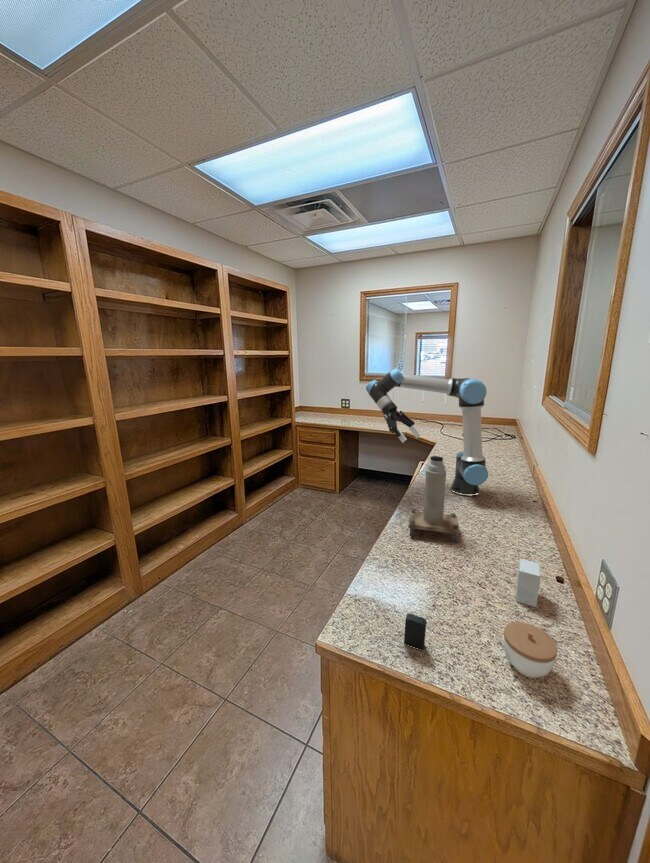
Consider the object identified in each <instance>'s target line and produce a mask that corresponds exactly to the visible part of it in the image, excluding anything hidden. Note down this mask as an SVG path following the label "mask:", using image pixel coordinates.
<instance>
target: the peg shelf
mask: <svg viewBox="0 0 650 863" xmlns="http://www.w3.org/2000/svg"><path fill="white" fill-rule="evenodd" d="M423 516H424V511H418V510H416V509H415V508H411V510H409V517H408V528H409V537H410V536H411V537H410V538H414V537H415V530H416V529H417V530H421V531H422V530H423V531H431V532H441V533H446V534H447V533H448V534H452V538H451V539H452V540H451V542H452V543H453V544H457V543H458V535H460V533H461V530H460V525H459V520H458V515H457V514H456V513H453V512H452V513H451V514H445V513H443V522H442V523H440V524H431V523H428V522H426V521H424V519H423ZM413 536H414V537H413Z"/></svg>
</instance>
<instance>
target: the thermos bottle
mask: <svg viewBox="0 0 650 863" xmlns="http://www.w3.org/2000/svg"><path fill="white" fill-rule="evenodd" d="M429 461H430V462H429V463H428V464H427V468H426V469H425V482H424V485H425V486H424V501H423V512H424V516H423V519H424V521H426V522H428V523H431V524H440V523H442V522H443V514H444V509H445V498H446V497H445V495H446V493H445V492H446V480H447V470H446V469H445V468H446V466H445V465H444V458H443V457H442V456H439V455H438V456H437V455H433V456H430V460H429Z"/></svg>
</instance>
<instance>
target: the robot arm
mask: <svg viewBox="0 0 650 863" xmlns="http://www.w3.org/2000/svg"><path fill="white" fill-rule="evenodd" d="M395 387H396V388H403V389H404V388H405V389H412V390H418V391H426V392H433V393H441V394H446V395H447V396H448V397H454V398H457V399H458V407H459V408H460V409H461V410H462V435H463V437H462V439H463V440H462V441H463V442H462V443H463V451H459V452H457V453H456V457H455V472H454V479H453V480H452V483H451V484H450V490H451V489H452V490H453V491H455V492H458V493H462V494H476V493H479V494H480V492H479V491H480V487H479V485H482V484H484V483H485V482H486V481H487V480H488V478H489V470H488V468H487V464H486V462H487V461H486V457H485V456H484V455H483V444H482V443H483V442H482V441H483V440H482V438H483V437H482V408H483V407H484V406H485V398H486V396H487V387H486V385H485V384H484V382H482V381H481V380H479V379H477V378H469V377H467V378H455V377H450V378H449V379H448V378H447V379H446V378H441V377H434V376H433V377H432V376H424V375H416V374H408V373H402V372H400V370H399V369H398V368H394V369H393V370H391V371H389V372H387V373H386V374H385V375H384V377H382V378H381V379H380V380H378V381H377V380H376V379H373V380H372V381H369V382H368V384H367V385H366V386H365V390H366V392H367V393H368V395H369V396H370V397H371V399H372V400H373V402H374V403H375V405H377V407H378V408H379V409H380V410H381V413H382V414H383V415H384V416H383V418H384V420H385V422H386V425H387V427H388V430H389V432H391V434H395V435H396V437H397V438H398V439H399V440H400V442H401V443H402V444H404V443H405V442H406V441H407V440H408V439H407V438H406V436H405V435H404V434H403V432H402V431H401V429H400V428H398V423H397V422H399V423H402V424H403V425H405V426H406V427H409V428H408V429H409V431H410V432H411V433H412V435H413V436H414V438H416V439H419V437H421V435H422V434H421V433H420V432H419V431H418V429H417V428H416V427H415V423H416V422H415V421H413V420H412V419H411V418H410V417H408V416H407V415H406V414H405V413H404V412H403V411H402V410H400V411H398V406H397V405H396V404H395V402H393V399H392V398H391V397H390V396H389V395H388V393H390V391H392V390H393V389H394V388H395Z"/></svg>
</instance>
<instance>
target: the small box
mask: <svg viewBox="0 0 650 863" xmlns="http://www.w3.org/2000/svg"><path fill="white" fill-rule="evenodd" d="M541 576H542V575H541V564H540V563H539V562H536V561H531V560H527V559H524V558H519V561H518V569H517V578H516V586H515V587H516V589H515V590H516V591H515V602H516V603H517V602H518V603H520V604H524V605H526V606H530V607H534V608H538V600H539V591H540V583H541V578H542V577H541Z"/></svg>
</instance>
